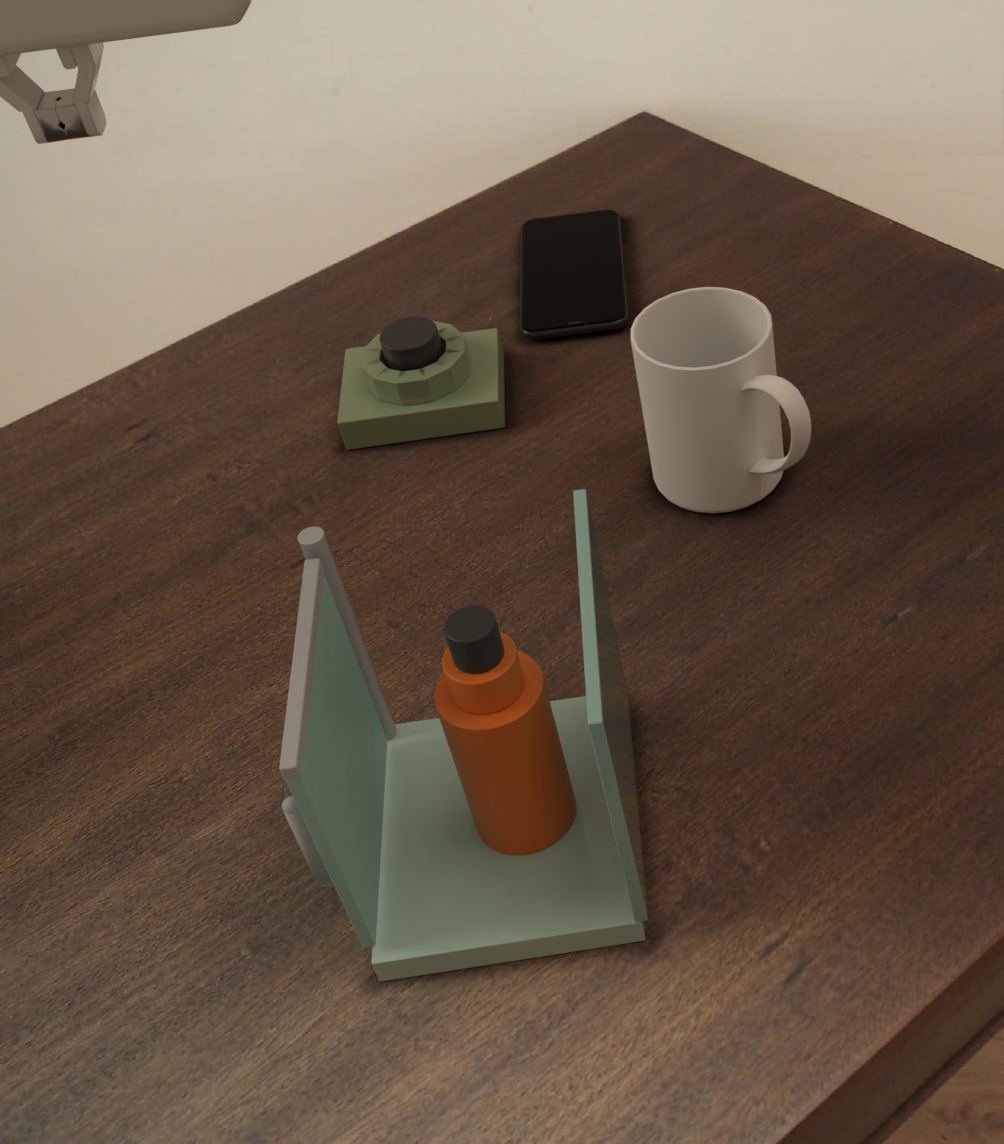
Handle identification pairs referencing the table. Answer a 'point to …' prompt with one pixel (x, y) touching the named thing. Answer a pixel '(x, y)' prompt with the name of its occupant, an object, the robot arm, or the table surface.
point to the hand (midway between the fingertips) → (73, 134)
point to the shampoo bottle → (502, 736)
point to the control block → (423, 391)
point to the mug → (714, 399)
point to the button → (411, 343)
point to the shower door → (334, 758)
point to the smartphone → (572, 275)
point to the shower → (450, 839)
